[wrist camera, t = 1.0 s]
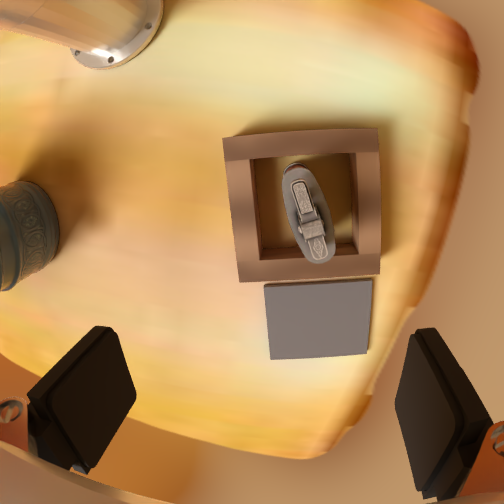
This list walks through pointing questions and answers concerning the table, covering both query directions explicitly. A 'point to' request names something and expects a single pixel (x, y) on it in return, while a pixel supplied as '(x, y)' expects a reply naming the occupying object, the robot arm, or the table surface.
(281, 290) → the charcoal mat
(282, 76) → the table surface
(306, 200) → the lighter
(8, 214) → the canister
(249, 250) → the frame
